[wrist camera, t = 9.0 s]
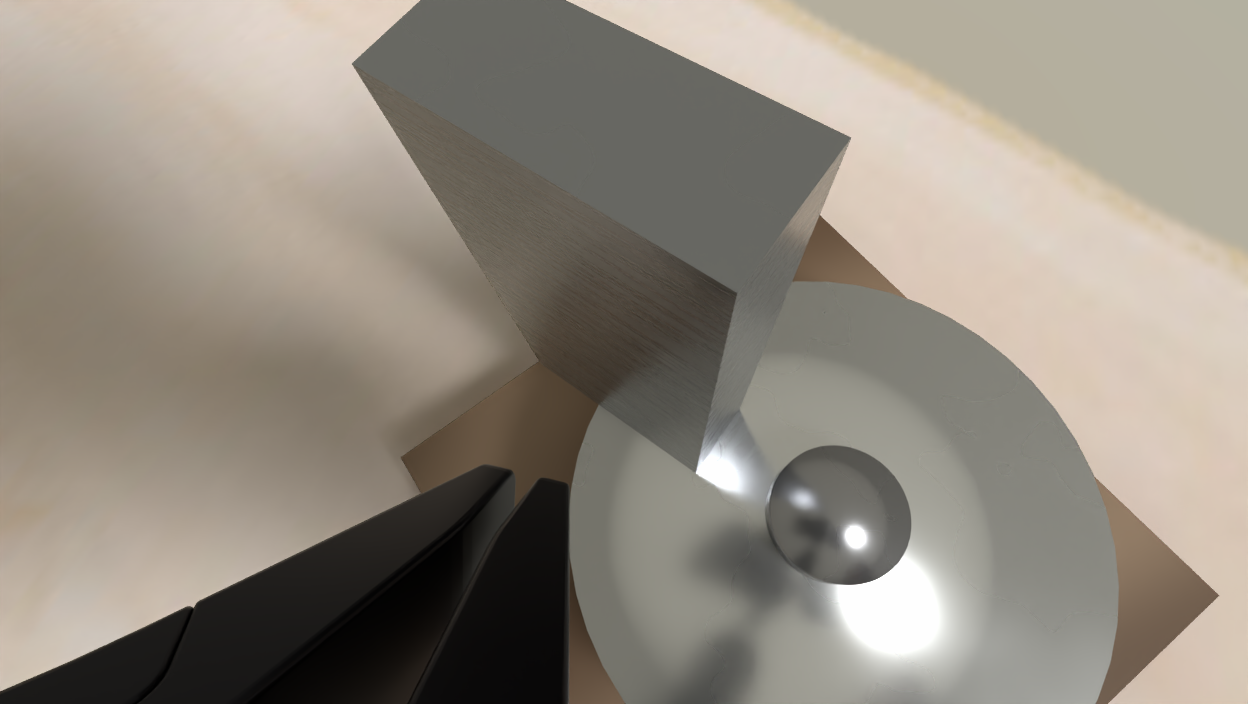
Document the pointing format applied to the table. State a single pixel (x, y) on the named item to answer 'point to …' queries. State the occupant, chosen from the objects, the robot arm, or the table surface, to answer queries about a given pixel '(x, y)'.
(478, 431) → the walnut board
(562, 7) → the disc and block
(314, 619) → the robot arm
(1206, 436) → the table surface
